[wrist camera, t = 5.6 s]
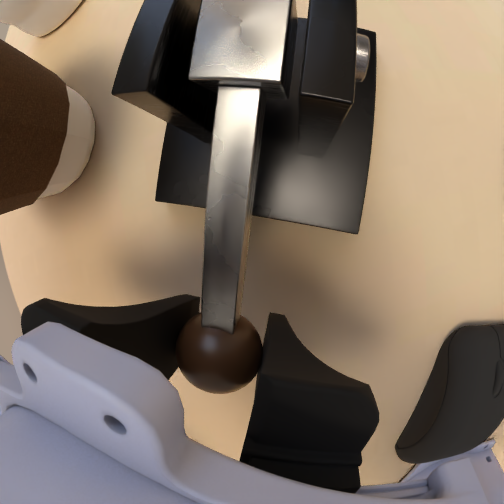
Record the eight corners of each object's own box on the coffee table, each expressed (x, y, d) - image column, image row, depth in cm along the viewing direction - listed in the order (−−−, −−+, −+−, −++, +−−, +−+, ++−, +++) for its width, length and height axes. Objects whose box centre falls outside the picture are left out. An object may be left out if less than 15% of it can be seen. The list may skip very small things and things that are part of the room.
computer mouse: (513, 320, 11) (547, 345, 7) (453, 442, 13) (467, 475, 9) (448, 322, 12) (484, 357, 8) (389, 454, 14) (398, 493, 10)
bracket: (352, 231, 12) (428, 280, 4) (166, 200, 13) (41, 210, 6) (371, 43, 10) (414, -57, 2) (201, 27, 11) (136, -61, 3)
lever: (262, 360, 12) (248, 418, 9) (193, 344, 12) (165, 395, 9) (314, 28, 6) (315, -21, 3) (217, 24, 7) (178, -17, 4)
